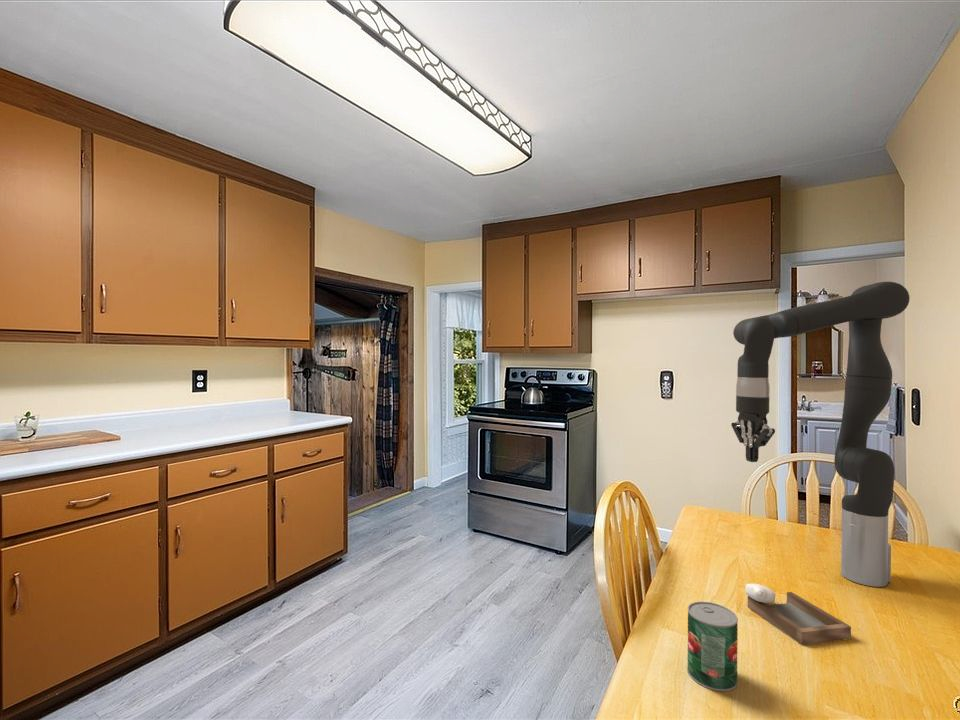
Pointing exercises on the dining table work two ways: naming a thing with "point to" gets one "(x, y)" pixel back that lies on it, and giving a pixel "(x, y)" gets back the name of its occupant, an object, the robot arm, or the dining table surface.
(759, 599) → the eye dropper bottle
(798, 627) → the u rest
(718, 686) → the canned tomato
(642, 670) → the dining table surface
